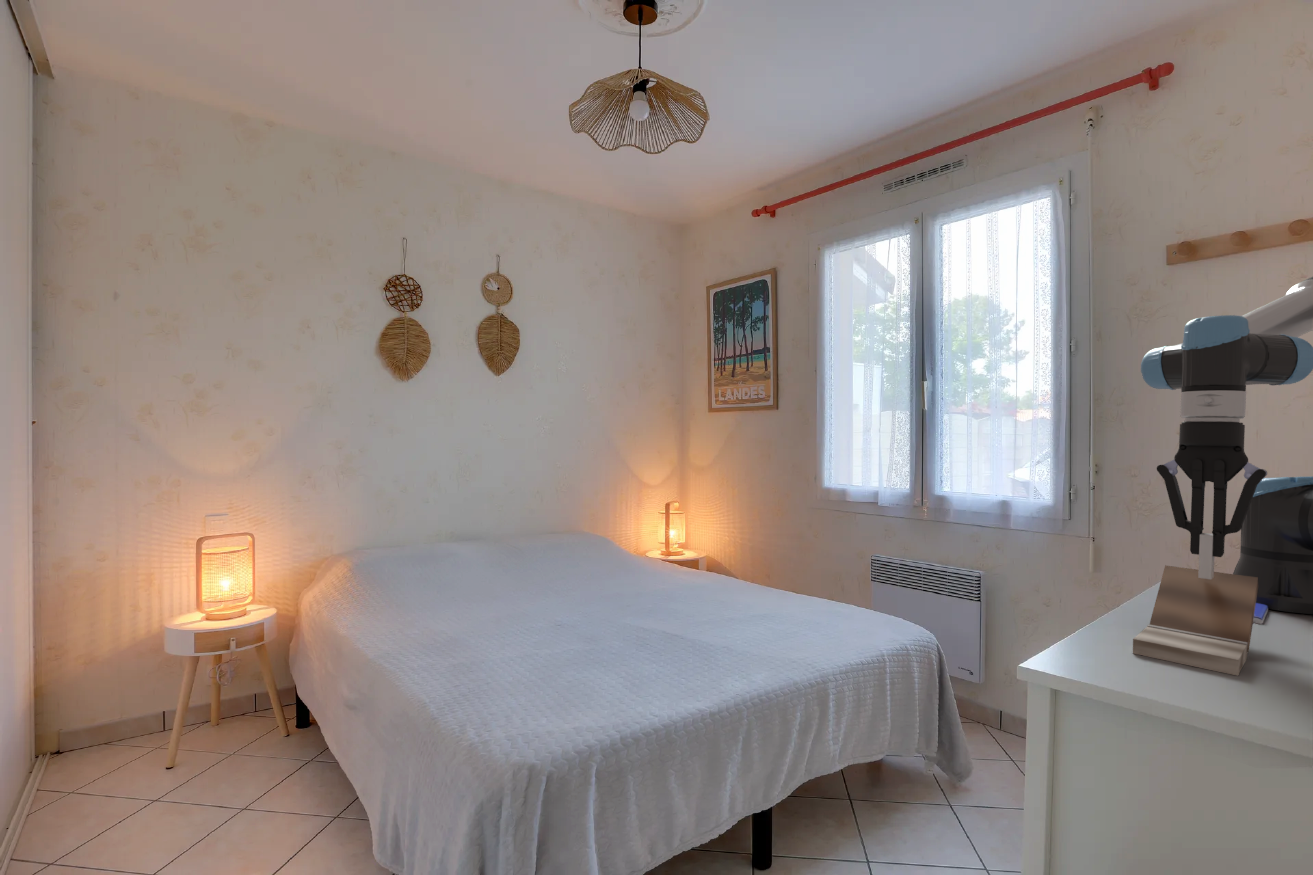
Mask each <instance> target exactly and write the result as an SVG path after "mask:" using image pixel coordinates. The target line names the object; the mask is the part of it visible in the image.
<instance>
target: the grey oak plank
mask: <svg viewBox="0 0 1313 875" xmlns="http://www.w3.org/2000/svg"><path fill="white" fill-rule="evenodd" d="M1247 648H1248V642H1242V641H1237V640H1231V639H1226V638H1221V637H1215V636H1210V635H1204V634H1199V633H1193V632H1188V631H1183V630H1177V629H1172V628H1166V627H1161V626H1156V625H1150V623H1149V624H1147V625H1146V627H1145V628H1144V629H1143V630H1142V631H1140V632H1139V633H1138V634H1137V635H1136V636H1135V637H1133V638H1132V654H1133V655H1137V656H1139V655H1140V656H1144V657H1149V658H1153V659H1157V660H1162V661H1163V660H1164V661H1167V662H1171V663H1176V664H1182V665H1185V666H1186V665H1187V666H1190V667H1196V668H1201V669H1205V670H1209V671H1212V672H1213V671H1214V672H1219V673H1222V674H1223V673H1224V674H1228V675H1233V676H1237V677H1238V676H1239V675H1240V673H1241V671H1242V668H1243V667H1244V666H1245V663H1246V662H1247V660H1248V652H1247Z"/></svg>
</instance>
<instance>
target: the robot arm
mask: <svg viewBox="0 0 1313 875" xmlns="http://www.w3.org/2000/svg"><path fill="white" fill-rule="evenodd" d="M1309 332H1313V276H1311V277H1308V278H1307V279H1304V280H1301V281H1300V282H1298V283H1296V284H1295V285H1293V286H1291V287H1290V288H1289V290H1288V291H1287V292H1286V293H1285V294H1284V296H1282V297H1279V298H1277V299H1274V300H1272V301H1270V302H1269V303H1267V304H1264V305H1261V306H1260V307H1258V308H1255V309H1253V310H1251V311H1249V312H1247V313H1245V314H1243V315H1235V314H1233V315H1232V314H1231V315H1229V314H1226V315H1223V314H1222V315H1212V316H1211V315H1210V316H1203V317H1202V316H1201V317H1197V318H1194V319H1191V320H1189V321H1187V323H1186V324H1185V325H1184V328H1183V337H1182V338H1183V339H1182V342H1180V343H1178V344H1174V345H1164V346H1161V347H1155V348H1153V349H1151V350H1148V352H1146V353H1145V355H1144V356H1143V357H1142V359H1141V360H1142V361H1141V363H1140V373H1141V377H1142V379H1143V381H1144V383H1146V385H1148V386H1149V387H1151V388H1152V389H1157V390H1172V391H1175V390H1179V389H1180V390H1181V391H1180V406H1179V408H1180V411H1179V412H1180V413H1179V417H1180V418H1182V419H1184V421H1182V422H1181V423H1180V424H1179V435H1178V436H1179V437H1178V438H1179V439H1178V440H1179V442H1178V444H1179V445H1178V450H1177V452H1175V455H1174V457H1173V459H1172V460H1170V461H1168V462H1166V463H1164V464H1159V465H1157V467H1156V471H1157V472H1158V473H1159V475H1160V476H1161V477H1162V479H1163V480H1164V485H1165V488H1166V492H1167V495H1168V500H1169V504H1170V507H1171V511H1172V515H1173V519H1174V522H1175V525H1176V527H1178V528H1181V529H1183V530H1186V531H1188V532H1189V533H1190V542H1189V543H1190V546H1189V549H1190V550H1189V551H1190V553H1191V554H1192V555H1197V556H1198V570H1199V572H1198V578H1204V579H1212V578H1213V577H1214V572H1215V557H1217V558H1222V557H1224V554H1225V542H1226V541H1225V540H1226V539H1225V538H1226V535H1228V534H1236V533H1238V532H1240V550H1239V551H1240V552H1239V554H1240V555H1239V559H1238V560H1237V563H1236V565H1235V567H1234V570H1233V572H1232V574H1235V575H1243V576H1250V577H1258V592H1257V598H1256V603H1259V604H1264V605H1267V606H1268V610H1274V611H1281V612H1287V613H1294V614H1295V613H1297V614H1304V615H1313V476H1281V477H1267V475H1268V470H1266V469H1263V468H1259V467H1258V466H1256V465H1255V464H1252V463H1251V462H1249V458H1248V456H1247V455H1246V454H1247V453H1245V432H1246V431H1245V428H1246V425H1245V424H1244V422H1241V421H1240V420H1241V419H1244V418H1245V417H1246V406H1247V405H1246V404H1247V386H1253V385H1269V386H1282V385H1283V386H1284V385H1292V384H1293V385H1294V384H1296V383H1299V382H1301V381H1303V380H1305V379H1306V378H1307V377H1308V376H1309V375H1310V374H1311V373H1312V371H1313V345H1312V344H1311V343H1310V342H1308V341H1307V340H1306V339H1303V338H1301V337H1302V336H1303V335H1305V334H1308V333H1309ZM1178 467H1179V468H1180V470H1182V471H1183V473H1184V474H1185V475H1186V476H1187V477H1188V478H1189V479H1190V480H1191V502H1190V509H1191V510H1190V520H1189V519H1188V516H1187V512H1186V508H1185V504H1184V501H1183V496H1182V493H1181V489H1180V485H1179V482H1178V478H1177V477H1176V475H1177V474H1178V473H1179V471H1178ZM1242 470H1244V474H1243V477H1244V479H1245V480H1246V481H1245V483H1244V484H1243V486H1242V487H1243V488H1242V489H1241V492H1240V495H1239V498H1238V501H1237V504H1236V506H1235V509H1234V511H1233V515H1232V518H1231V520H1230V523H1229V524H1226V522H1227V518H1226V517H1227V516H1226V515H1227V491H1228V483H1229V482H1230V481H1231V480H1232V479H1234V477H1236V475H1237V474H1238V475H1239V473H1240V472H1241V471H1242ZM1206 482H1211V483H1212V484H1213V506H1212V508H1213V511H1212V512H1213V513H1212V531H1211V533H1207V532H1203V531H1204V517H1205V516H1204V515H1205V514H1204V512H1205V492H1206V491H1205V488H1206Z"/></svg>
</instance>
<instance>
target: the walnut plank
mask: <svg viewBox="0 0 1313 875" xmlns="http://www.w3.org/2000/svg"><path fill="white" fill-rule="evenodd" d="M1198 572H1199V569H1198V568H1197V569H1195V568H1188V567H1179V566H1171V565H1166V564H1165V565H1164V568H1163V573H1162V575H1161V579H1160V583H1159V588H1158V591H1157V595H1156V599H1155V602H1154V606H1153V610H1152V614H1151V617H1150V620H1149V624H1150V625H1156V626H1161V627H1166V628H1172V629H1177V630H1183V631H1188V632H1193V633H1199V634H1204V635H1210V636H1215V637H1221V638H1226V639H1231V640H1237V641H1242V642H1248V648H1247V653H1250V652H1249V651H1250V646H1251V645H1250V644H1251V638H1252V631H1253V624H1254V623H1253V619H1254V612H1255V605H1256V598H1257V592H1258V577H1250V576H1243V575H1235V574H1233V573H1225V572H1219V571H1214V577H1213V578H1212V579H1204V578H1198Z"/></svg>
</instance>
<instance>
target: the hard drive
mask: <svg viewBox="0 0 1313 875" xmlns="http://www.w3.org/2000/svg"><path fill="white" fill-rule="evenodd" d="M1268 611H1269V609H1268V606H1267V605H1264V604H1259V603H1256V605H1255V612H1254V619H1253V624H1254V623H1255V624H1261V625H1262V624H1263V623H1264V621H1265V619H1266V616H1267V613H1268Z"/></svg>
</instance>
